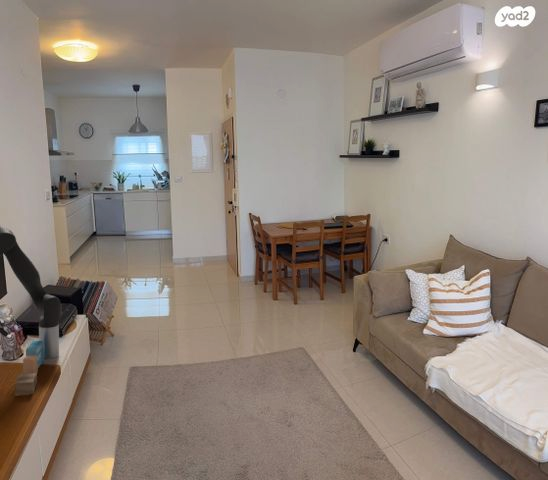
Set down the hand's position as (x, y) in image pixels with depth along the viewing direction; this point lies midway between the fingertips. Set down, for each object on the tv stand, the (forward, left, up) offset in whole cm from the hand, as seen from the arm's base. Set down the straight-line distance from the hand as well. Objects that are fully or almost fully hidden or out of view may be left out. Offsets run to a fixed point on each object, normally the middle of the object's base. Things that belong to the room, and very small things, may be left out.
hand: (2, 338), depth 204 cm
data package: (-2, +15, -20) cm, 25 cm away
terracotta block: (+8, +8, -19) cm, 23 cm away
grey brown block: (+20, +1, -19) cm, 28 cm away
